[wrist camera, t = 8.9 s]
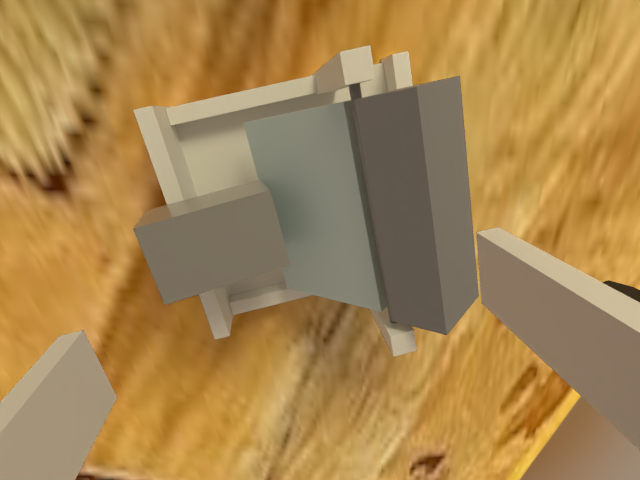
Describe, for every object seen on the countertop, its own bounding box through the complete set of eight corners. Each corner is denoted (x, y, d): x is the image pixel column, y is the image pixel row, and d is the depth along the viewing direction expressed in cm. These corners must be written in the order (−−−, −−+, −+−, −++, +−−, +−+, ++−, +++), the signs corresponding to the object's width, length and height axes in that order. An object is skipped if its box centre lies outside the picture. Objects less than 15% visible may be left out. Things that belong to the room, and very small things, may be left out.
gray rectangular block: (277, 242, 30) (171, 275, 28) (259, 179, 28) (146, 210, 27) (290, 264, 25) (164, 305, 24) (270, 189, 23) (133, 228, 22)
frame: (141, 113, 30) (58, 114, 18) (395, 56, 31) (475, 22, 19) (211, 312, 35) (182, 412, 24) (422, 259, 36) (496, 329, 25)
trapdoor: (283, 113, 30) (236, 124, 27) (459, 75, 20) (416, 86, 17) (319, 267, 34) (282, 292, 31) (478, 296, 24) (446, 335, 21)
